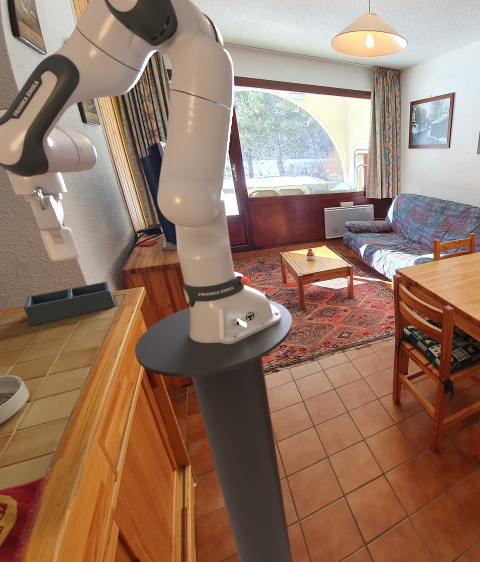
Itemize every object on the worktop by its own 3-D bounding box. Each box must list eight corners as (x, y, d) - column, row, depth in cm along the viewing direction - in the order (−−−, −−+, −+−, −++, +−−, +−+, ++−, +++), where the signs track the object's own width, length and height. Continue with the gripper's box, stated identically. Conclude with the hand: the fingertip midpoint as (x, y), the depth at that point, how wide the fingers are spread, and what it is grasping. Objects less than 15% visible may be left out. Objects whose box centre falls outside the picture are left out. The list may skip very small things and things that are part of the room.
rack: (112, 296, 99) (107, 281, 97) (115, 306, 93) (109, 290, 90) (35, 313, 88) (27, 296, 86) (31, 325, 82) (23, 307, 80)
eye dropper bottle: (77, 259, 80) (61, 213, 76) (48, 262, 78) (29, 214, 73) (82, 254, 84) (66, 210, 79) (54, 257, 81) (36, 211, 77)
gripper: (56, 189, 69) (77, 248, 74) (59, 181, 83) (76, 232, 88) (14, 190, 65) (39, 253, 70) (25, 182, 79) (45, 235, 84)
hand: (60, 241), depth 79 cm, fingers closed on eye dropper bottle, 4 cm apart
